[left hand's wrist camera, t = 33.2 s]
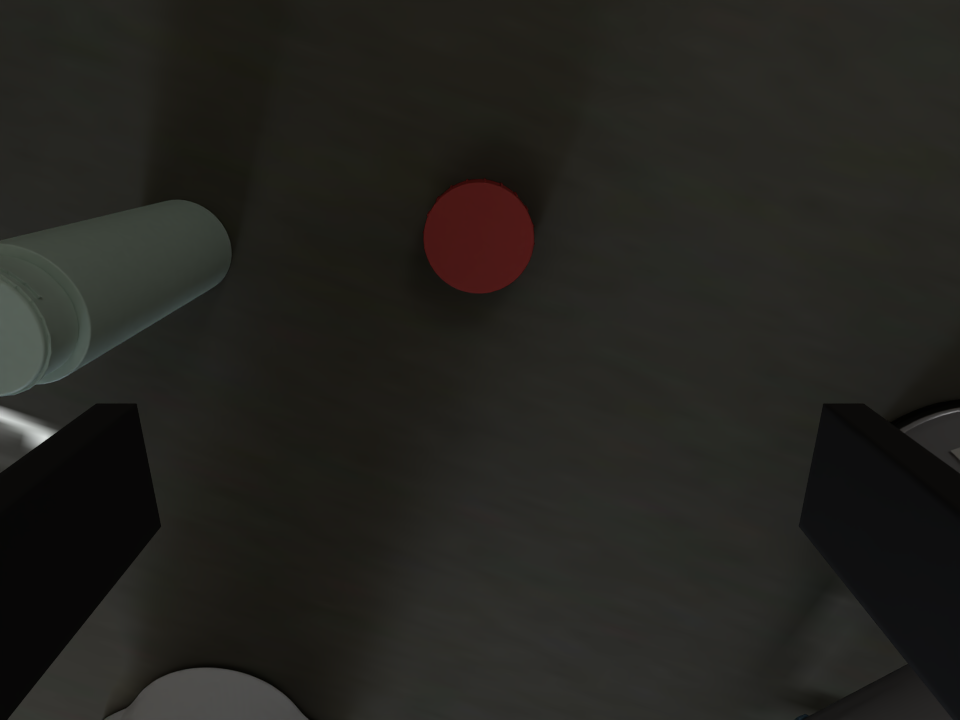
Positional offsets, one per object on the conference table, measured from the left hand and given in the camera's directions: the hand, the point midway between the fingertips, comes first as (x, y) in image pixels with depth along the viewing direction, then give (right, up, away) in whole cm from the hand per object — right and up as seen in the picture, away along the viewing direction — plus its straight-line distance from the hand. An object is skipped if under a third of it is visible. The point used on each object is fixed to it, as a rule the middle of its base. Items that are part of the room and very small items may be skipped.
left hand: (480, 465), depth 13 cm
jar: (-18, +9, +26) cm, 32 cm away
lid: (0, +9, +24) cm, 25 cm away
